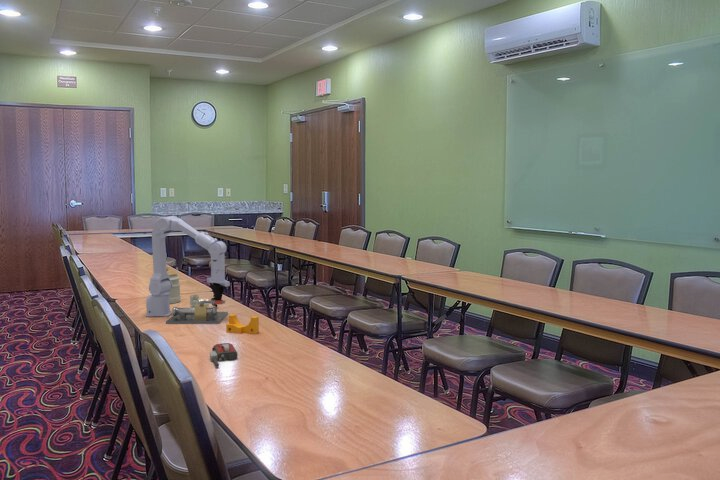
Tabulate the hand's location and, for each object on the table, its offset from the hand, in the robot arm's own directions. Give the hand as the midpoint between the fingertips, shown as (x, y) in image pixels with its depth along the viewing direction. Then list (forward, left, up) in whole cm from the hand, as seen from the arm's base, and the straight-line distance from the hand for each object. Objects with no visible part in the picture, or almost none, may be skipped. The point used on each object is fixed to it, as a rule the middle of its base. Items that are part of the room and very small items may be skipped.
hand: (218, 300), depth 255 cm
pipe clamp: (+14, -24, -8) cm, 29 cm away
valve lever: (-2, -2, -1) cm, 3 cm away
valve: (-11, +19, -8) cm, 23 cm away
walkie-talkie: (+14, -59, -8) cm, 61 cm away
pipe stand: (-9, -1, -8) cm, 12 cm away
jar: (-33, +35, -8) cm, 48 cm away
